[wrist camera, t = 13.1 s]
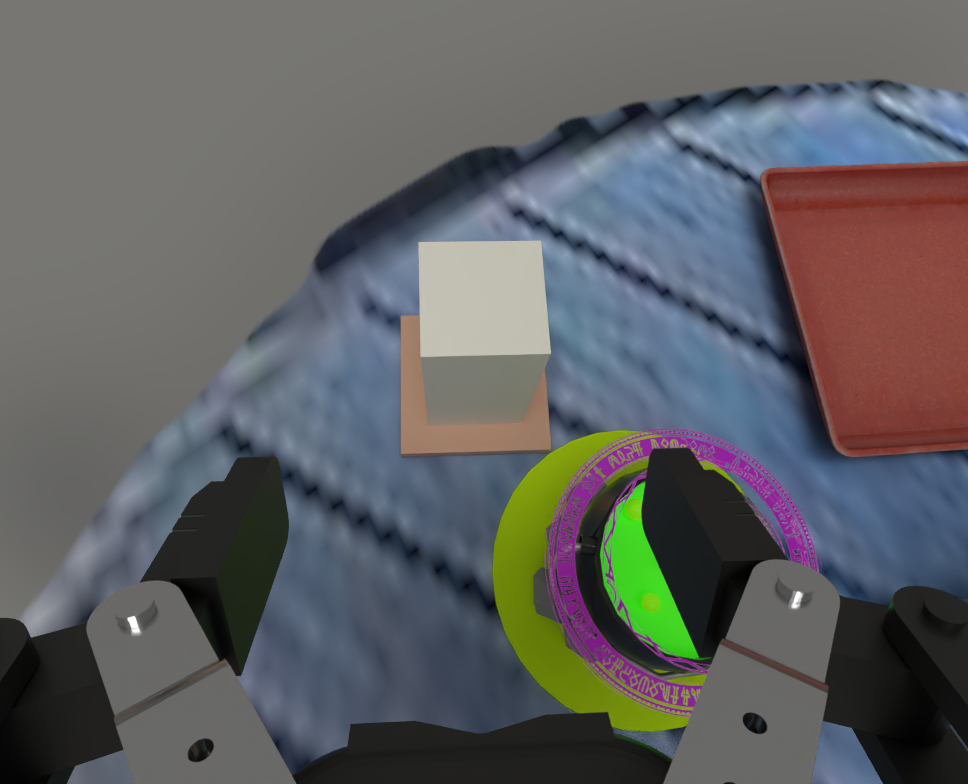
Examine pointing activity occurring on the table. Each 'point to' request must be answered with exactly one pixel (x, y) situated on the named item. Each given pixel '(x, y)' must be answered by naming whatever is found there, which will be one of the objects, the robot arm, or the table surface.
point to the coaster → (461, 438)
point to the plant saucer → (879, 298)
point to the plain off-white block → (481, 330)
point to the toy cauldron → (607, 579)
